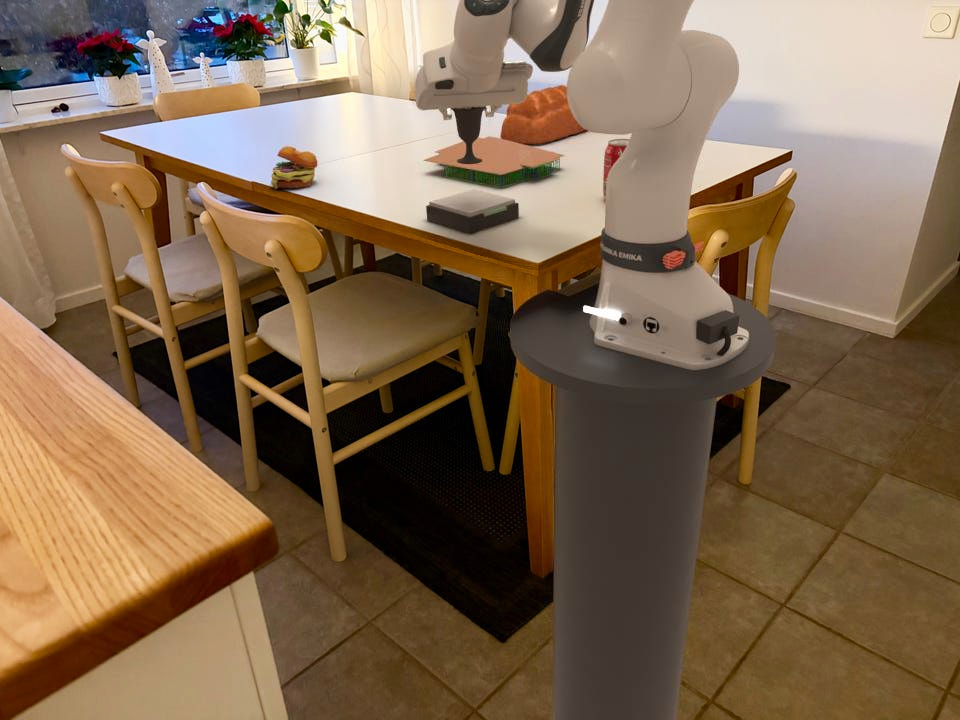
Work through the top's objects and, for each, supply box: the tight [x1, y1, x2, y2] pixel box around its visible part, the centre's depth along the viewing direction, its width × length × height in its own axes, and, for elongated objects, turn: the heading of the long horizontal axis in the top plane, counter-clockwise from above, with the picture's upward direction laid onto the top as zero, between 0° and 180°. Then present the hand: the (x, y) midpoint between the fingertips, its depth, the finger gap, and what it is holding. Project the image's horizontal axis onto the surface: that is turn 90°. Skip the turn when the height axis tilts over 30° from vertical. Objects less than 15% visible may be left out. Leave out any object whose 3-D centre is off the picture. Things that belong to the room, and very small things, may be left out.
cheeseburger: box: [270, 145, 318, 190], centre depth 176 cm, size 10×11×10 cm
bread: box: [499, 84, 587, 145], centre depth 215 cm, size 16×31×13 cm, turn 140°
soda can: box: [602, 138, 630, 199], centre depth 152 cm, size 7×7×12 cm
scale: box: [425, 188, 520, 234], centre depth 146 cm, size 13×13×4 cm
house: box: [423, 136, 565, 189], centre depth 180 cm, size 23×33×8 cm
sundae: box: [451, 106, 486, 164], centre depth 138 cm, size 7×7×15 cm
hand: (467, 115), depth 138 cm, fingers closed on sundae, 7 cm apart
